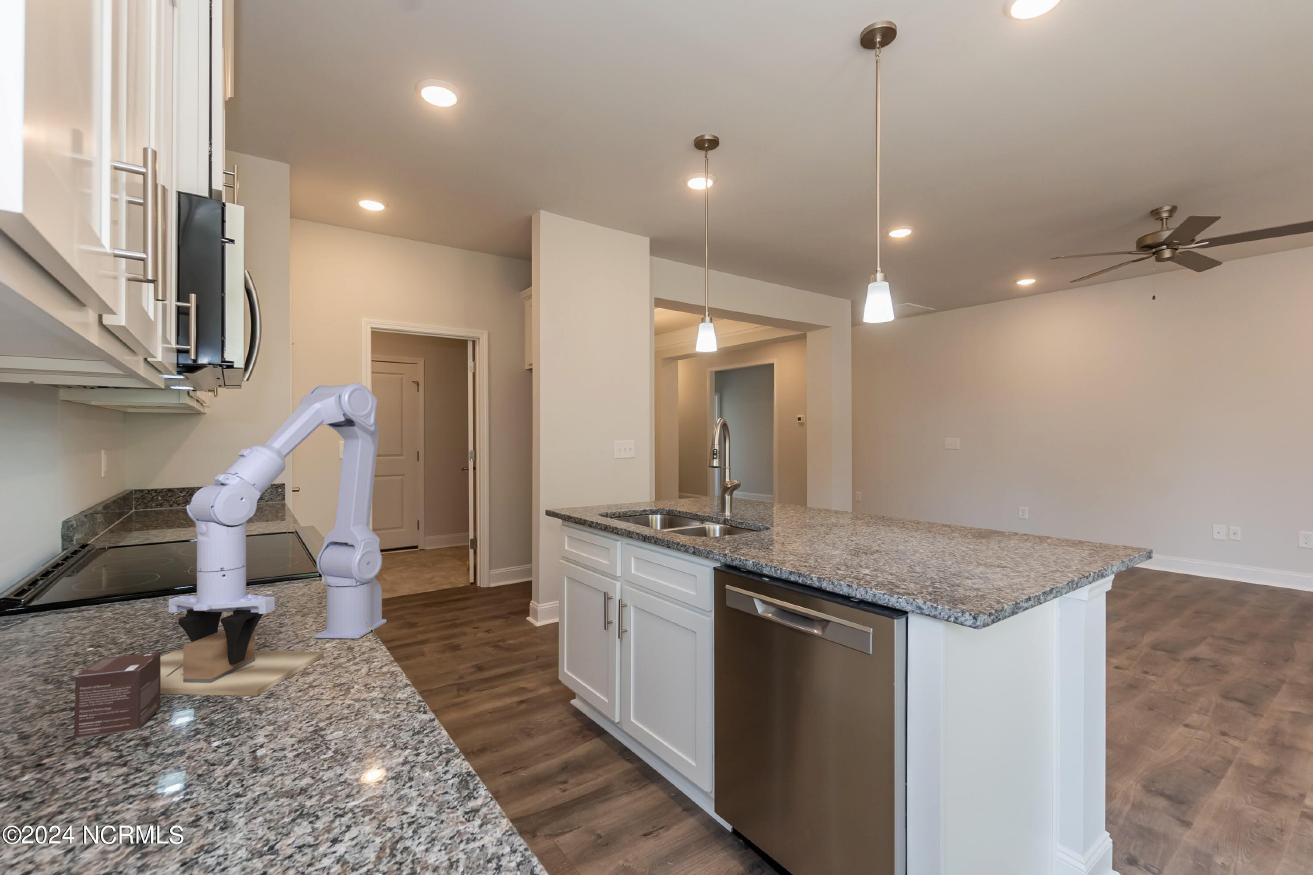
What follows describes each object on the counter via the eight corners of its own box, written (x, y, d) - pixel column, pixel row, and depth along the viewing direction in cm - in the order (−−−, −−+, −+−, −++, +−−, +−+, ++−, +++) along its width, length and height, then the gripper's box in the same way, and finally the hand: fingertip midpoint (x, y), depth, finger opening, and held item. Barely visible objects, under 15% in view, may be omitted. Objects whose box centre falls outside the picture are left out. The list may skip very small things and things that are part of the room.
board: (178, 654, 92) (178, 649, 92) (323, 656, 91) (323, 651, 91) (87, 692, 78) (87, 686, 78) (257, 695, 77) (257, 689, 77)
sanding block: (229, 660, 87) (229, 627, 87) (254, 660, 87) (255, 627, 87) (183, 682, 79) (183, 645, 79) (210, 682, 79) (211, 646, 79)
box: (101, 716, 71) (101, 657, 71) (162, 708, 73) (162, 651, 73) (72, 740, 66) (72, 675, 66) (138, 731, 68) (139, 668, 68)
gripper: (148, 573, 80) (148, 671, 80) (248, 574, 79) (248, 673, 79) (192, 562, 87) (192, 653, 87) (284, 563, 86) (284, 654, 86)
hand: (221, 661), depth 83 cm, fingers closed on sanding block, 4 cm apart
